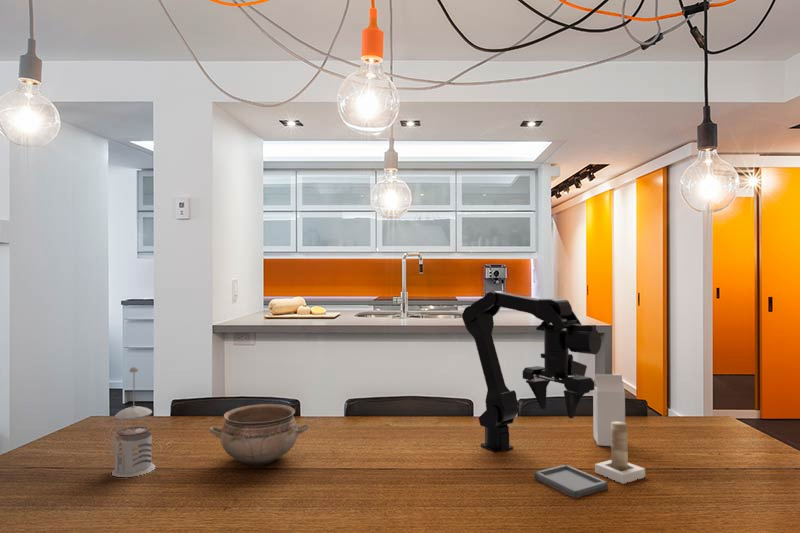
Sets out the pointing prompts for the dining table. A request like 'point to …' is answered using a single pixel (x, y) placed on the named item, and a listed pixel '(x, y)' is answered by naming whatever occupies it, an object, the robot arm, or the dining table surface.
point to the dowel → (619, 446)
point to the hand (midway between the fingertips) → (556, 413)
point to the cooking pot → (259, 433)
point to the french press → (132, 443)
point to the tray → (571, 481)
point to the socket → (622, 477)
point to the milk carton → (607, 406)
